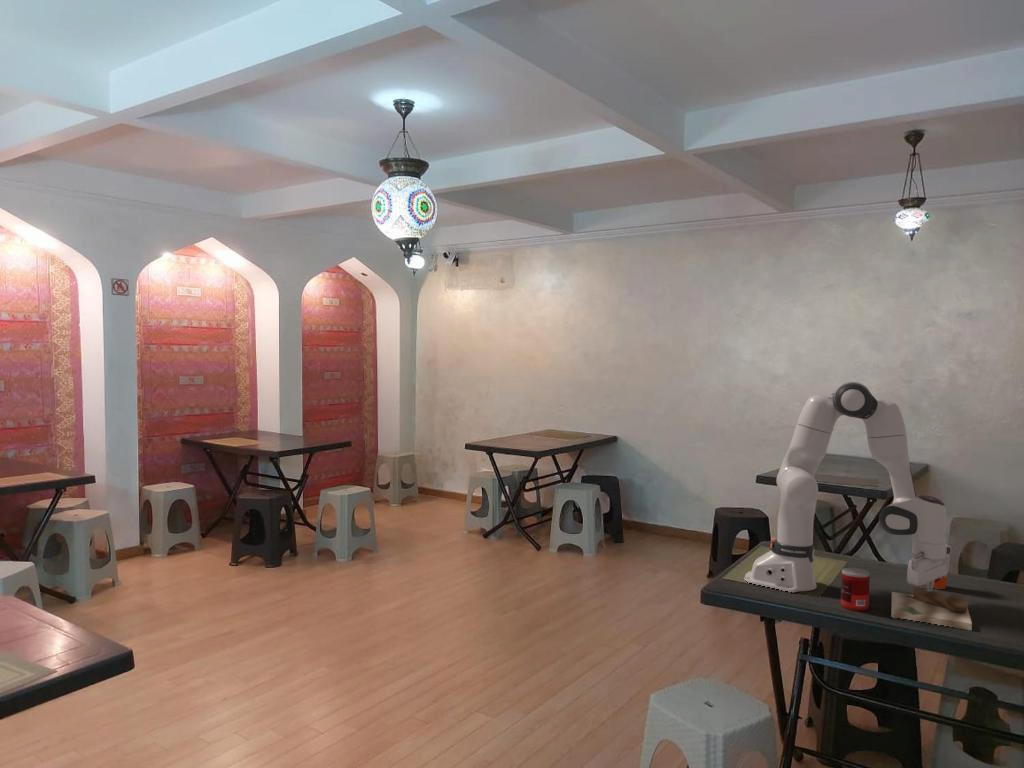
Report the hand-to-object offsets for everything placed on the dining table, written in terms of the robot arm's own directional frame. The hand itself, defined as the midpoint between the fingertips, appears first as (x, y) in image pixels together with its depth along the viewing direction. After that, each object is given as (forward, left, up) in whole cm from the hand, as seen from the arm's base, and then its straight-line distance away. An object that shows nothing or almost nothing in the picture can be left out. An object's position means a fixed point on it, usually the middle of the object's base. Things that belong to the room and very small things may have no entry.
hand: (926, 594), depth 225 cm
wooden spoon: (+3, -5, -1) cm, 6 cm away
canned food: (-19, -12, -4) cm, 23 cm away
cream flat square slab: (+1, -7, -4) cm, 8 cm away
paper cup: (+3, +22, -4) cm, 23 cm away
